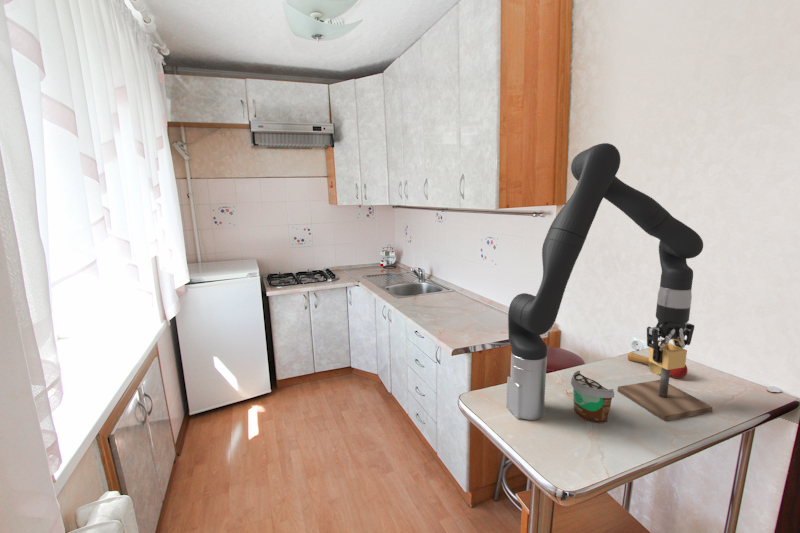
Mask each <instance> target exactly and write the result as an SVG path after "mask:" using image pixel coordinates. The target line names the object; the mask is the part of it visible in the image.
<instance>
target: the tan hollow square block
mask: <svg viewBox="0 0 800 533" xmlns="http://www.w3.org/2000/svg"><path fill="white" fill-rule="evenodd" d="M660 344H661V342H659V344H658V345H659V346H660ZM662 351H663V355H662V363H657V362H655V361H654V360H653V348H651V347H649V353H648V358H649V361H650V362H652V363H654V364H656V365H658V366H660V367H662V368H664V369H666V370H670V369H677V368H683V367H685V365H686V362H687V354H688V353H687V352H688V349H685V348H680V347H678V346H676V345H674V343H670V342H669V343H668V344H666V345H665V347H664V349H663V350H662Z"/></svg>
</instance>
